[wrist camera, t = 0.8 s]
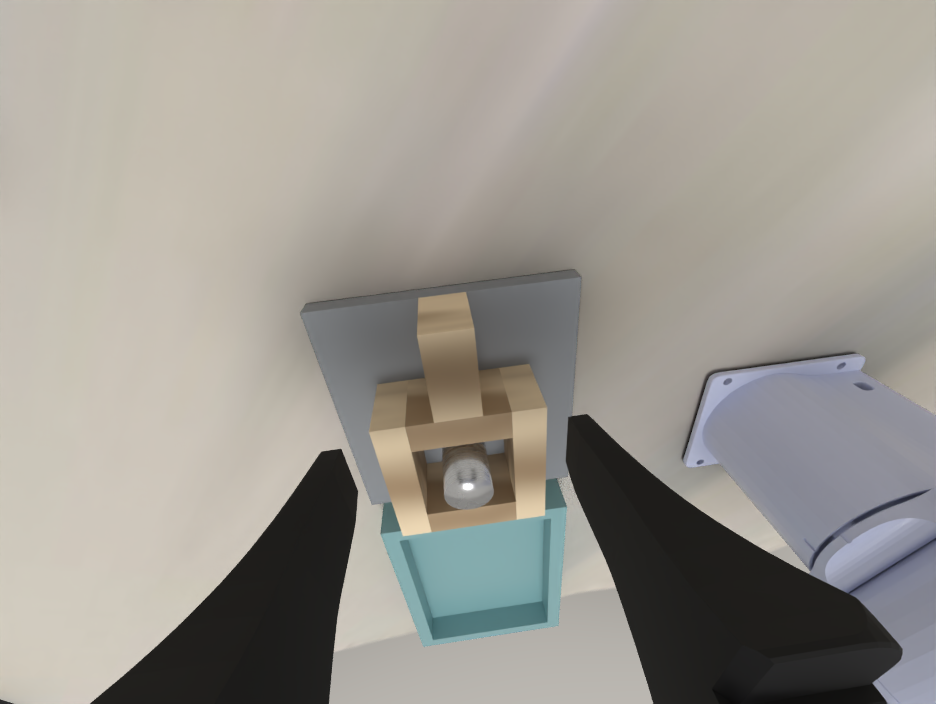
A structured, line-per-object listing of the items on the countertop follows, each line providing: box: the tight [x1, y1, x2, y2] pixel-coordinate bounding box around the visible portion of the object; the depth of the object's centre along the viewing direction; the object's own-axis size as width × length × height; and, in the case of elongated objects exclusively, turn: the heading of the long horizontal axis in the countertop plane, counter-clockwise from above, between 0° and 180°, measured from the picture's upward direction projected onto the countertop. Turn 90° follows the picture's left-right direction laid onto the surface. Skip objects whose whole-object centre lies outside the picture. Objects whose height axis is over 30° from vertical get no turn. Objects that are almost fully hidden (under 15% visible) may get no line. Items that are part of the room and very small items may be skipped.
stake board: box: [300, 270, 581, 510], centre depth 20 cm, size 14×13×5 cm
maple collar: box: [369, 292, 547, 536], centre depth 19 cm, size 12×8×4 cm, turn 6°
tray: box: [381, 478, 567, 647], centre depth 30 cm, size 12×17×2 cm
